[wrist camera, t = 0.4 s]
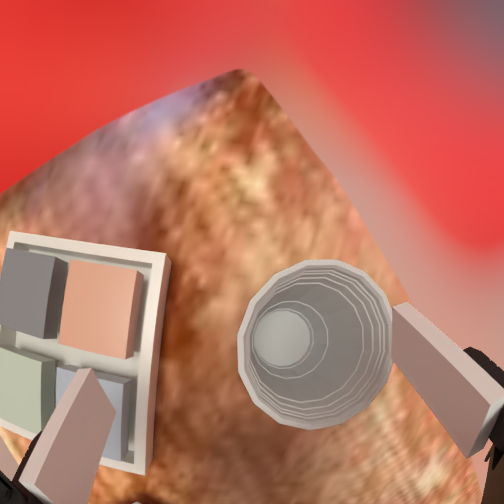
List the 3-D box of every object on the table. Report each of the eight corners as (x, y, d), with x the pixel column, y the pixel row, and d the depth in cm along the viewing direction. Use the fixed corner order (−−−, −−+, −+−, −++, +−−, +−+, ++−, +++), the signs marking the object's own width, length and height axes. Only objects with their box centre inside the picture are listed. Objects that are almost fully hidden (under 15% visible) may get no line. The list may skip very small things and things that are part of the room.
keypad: (152, 459, 25) (145, 475, 21) (12, 415, 23) (-7, 422, 19) (171, 262, 30) (165, 253, 26) (29, 241, 28) (10, 230, 24)
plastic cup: (301, 412, 28) (350, 455, 16) (205, 358, 28) (199, 380, 16) (355, 318, 30) (426, 311, 19) (265, 262, 31) (297, 223, 19)
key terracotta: (133, 356, 24) (125, 359, 21) (71, 342, 23) (58, 343, 21) (144, 275, 26) (136, 269, 23) (82, 265, 25) (70, 259, 23)
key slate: (128, 450, 22) (120, 461, 19) (68, 434, 21) (56, 442, 19) (131, 379, 24) (123, 384, 21) (69, 364, 23) (56, 367, 20)
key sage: (54, 429, 21) (41, 436, 19) (7, 409, 21) (-7, 414, 18) (55, 359, 23) (41, 362, 20) (7, 344, 22) (-8, 344, 20)
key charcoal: (56, 338, 23) (43, 339, 21) (9, 324, 23) (-6, 323, 20) (67, 262, 25) (55, 256, 22) (20, 253, 24) (6, 247, 22)
